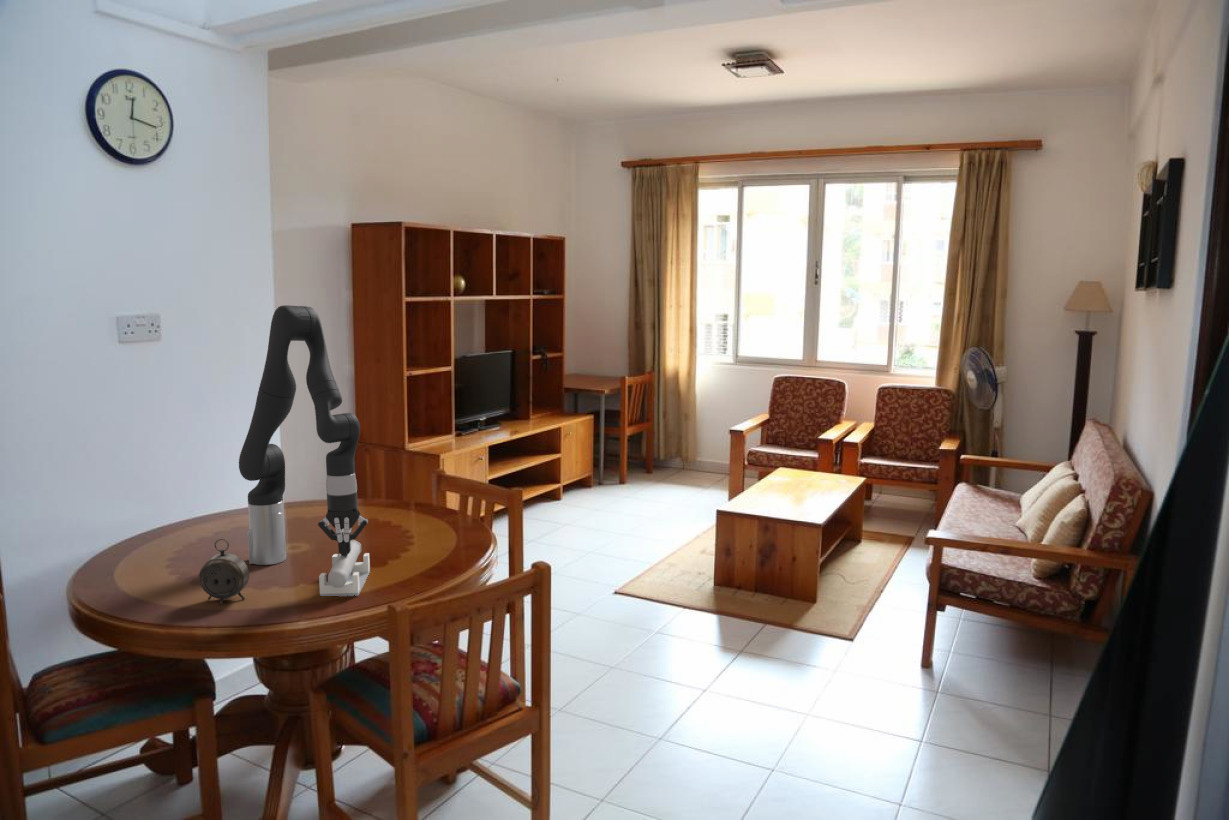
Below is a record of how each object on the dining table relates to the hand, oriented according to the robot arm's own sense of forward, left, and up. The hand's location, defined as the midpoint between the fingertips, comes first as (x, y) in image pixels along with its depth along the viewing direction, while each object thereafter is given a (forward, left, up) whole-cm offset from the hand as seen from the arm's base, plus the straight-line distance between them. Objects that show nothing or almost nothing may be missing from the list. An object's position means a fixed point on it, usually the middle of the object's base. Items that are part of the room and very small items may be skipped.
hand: (345, 554), depth 227 cm
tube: (0, 0, -5) cm, 5 cm away
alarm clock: (-28, -9, -8) cm, 30 cm away
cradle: (0, 0, -8) cm, 8 cm away
